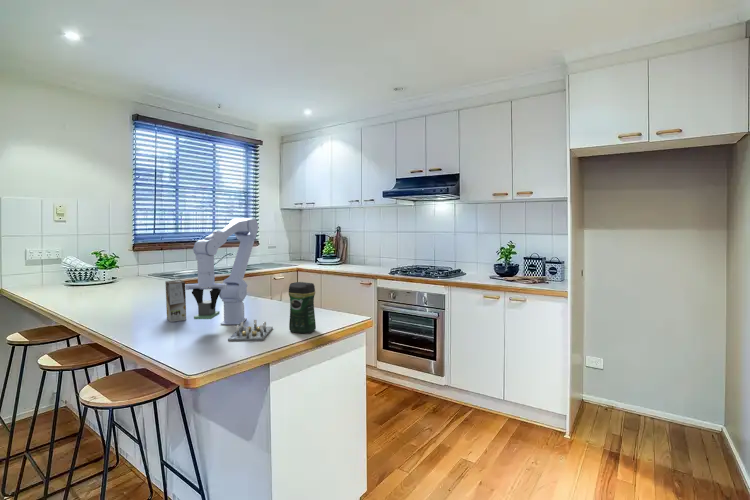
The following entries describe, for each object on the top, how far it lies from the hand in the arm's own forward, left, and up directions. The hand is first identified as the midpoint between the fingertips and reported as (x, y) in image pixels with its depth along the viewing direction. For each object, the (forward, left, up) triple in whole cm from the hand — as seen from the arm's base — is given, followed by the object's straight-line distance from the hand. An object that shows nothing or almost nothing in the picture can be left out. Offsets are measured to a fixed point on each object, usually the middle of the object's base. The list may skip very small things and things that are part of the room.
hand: (207, 308), depth 150 cm
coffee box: (-21, -21, -9) cm, 31 cm away
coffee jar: (0, +35, -9) cm, 36 cm away
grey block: (0, 0, -3) cm, 3 cm away
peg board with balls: (+4, +17, -9) cm, 20 cm away
